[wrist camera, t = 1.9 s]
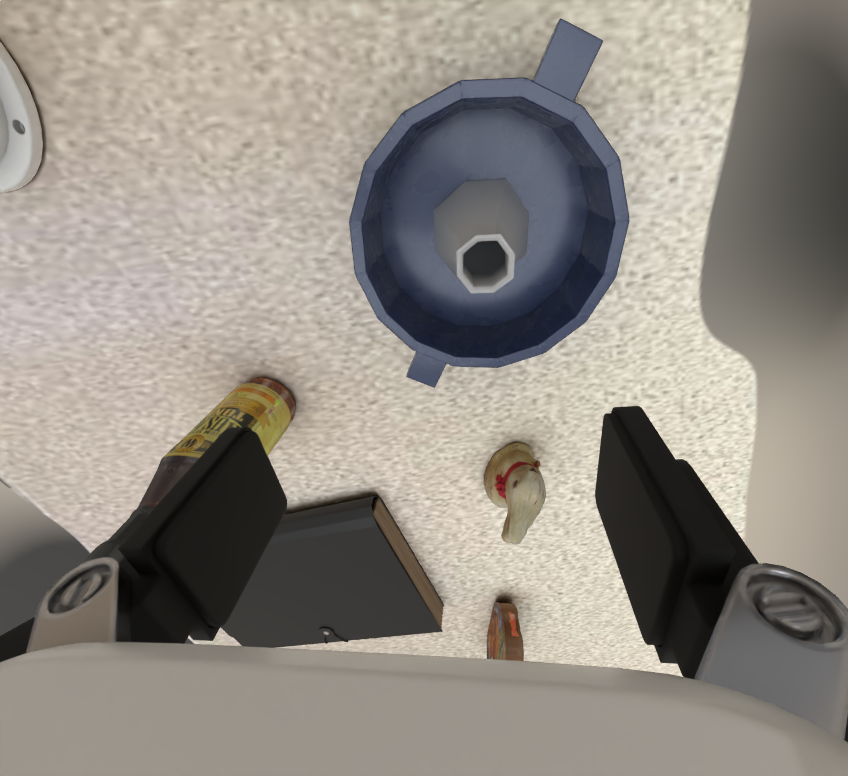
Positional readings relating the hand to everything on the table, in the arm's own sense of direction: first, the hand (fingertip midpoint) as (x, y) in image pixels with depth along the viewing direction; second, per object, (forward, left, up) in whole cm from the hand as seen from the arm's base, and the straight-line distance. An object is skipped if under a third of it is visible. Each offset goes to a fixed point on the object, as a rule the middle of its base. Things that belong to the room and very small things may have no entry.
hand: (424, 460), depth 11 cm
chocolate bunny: (+14, -17, -24) cm, 33 cm away
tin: (+27, -44, -24) cm, 57 cm away
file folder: (-2, -47, -24) cm, 53 cm away
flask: (+1, +3, -23) cm, 24 cm away
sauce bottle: (-12, -20, -24) cm, 34 cm away
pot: (+1, +3, -24) cm, 24 cm away
